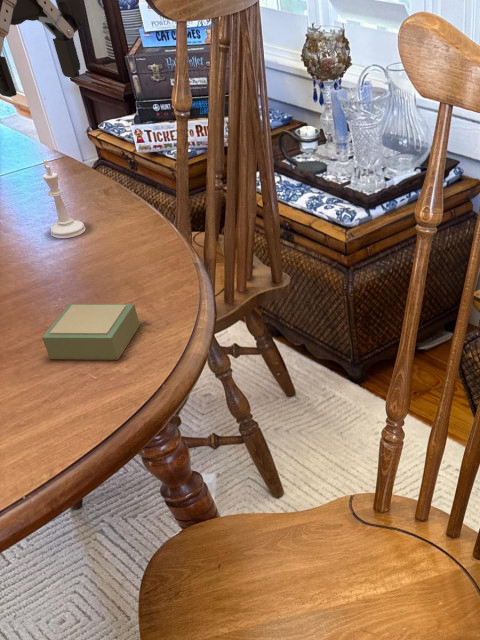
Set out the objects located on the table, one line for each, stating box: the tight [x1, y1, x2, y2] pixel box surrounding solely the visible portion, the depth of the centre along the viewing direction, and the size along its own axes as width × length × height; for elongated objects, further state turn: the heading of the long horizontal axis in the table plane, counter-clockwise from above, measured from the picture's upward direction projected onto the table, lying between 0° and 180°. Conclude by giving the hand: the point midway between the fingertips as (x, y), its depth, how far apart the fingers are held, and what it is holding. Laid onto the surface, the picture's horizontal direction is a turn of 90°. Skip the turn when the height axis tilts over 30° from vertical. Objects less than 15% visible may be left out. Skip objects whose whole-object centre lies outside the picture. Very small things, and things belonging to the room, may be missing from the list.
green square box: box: [41, 303, 141, 361], centre depth 90 cm, size 8×8×3 cm
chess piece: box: [42, 159, 86, 239], centre depth 112 cm, size 5×5×10 cm
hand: (41, 85), depth 87 cm, fingers open, 8 cm apart
